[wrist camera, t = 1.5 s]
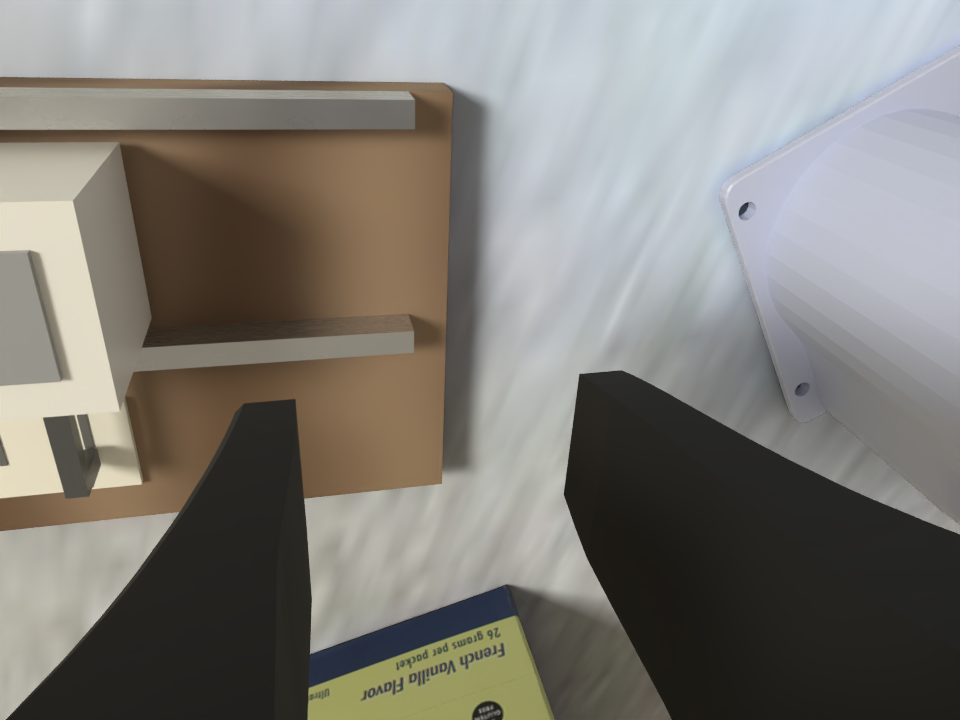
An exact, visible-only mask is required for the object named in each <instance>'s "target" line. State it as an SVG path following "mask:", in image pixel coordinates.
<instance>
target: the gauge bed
mask: <svg viewBox="0 0 960 720" xmlns="http://www.w3.org/2000/svg"><path fill="white" fill-rule="evenodd" d="M0 87H28V88H125V89H223V90H320V91H408V92H409V93H410V94H411V95H412V97H413V98H414V99H415V129H267V130H0V143H39V142H119V143H120V149H121V154H122V159H123V165H124V170H125V176H126V181H127V186H128V192H129V197H130V203H131V208H132V214H133V219H134V224H135V230H136V235H137V241H138V246H139V251H140V257H141V262H142V268H143V273H144V278H145V284H146V289H147V295H148V300H149V305H150V311H151V316H152V319H151V322H150V325H149V328H159V327H176V326H194V325H212V324H230V323H248V322H266V321H284V320H302V319H320V318H338V317H356V316H374V315H392V314H408V315H409V318H410V321H411V324H412V327H413V330H414V353H404V354H389V355H375V356H360V357H345V358H330V359H315V360H301V361H286V362H271V363H256V364H241V365H227V366H212V367H197V368H182V369H167V370H153V371H138V372H133V374H132V377H131V380H130V383H129V386H128V389H127V392H126V395H125V398H126V403H127V407H128V412H129V416H130V421H131V426H132V430H133V435H134V439H135V444H136V449H137V453H138V458H139V463H140V467H141V472H142V476H143V482H142V484H141V485H131V486H121V487H111V488H100V489H92V490H91V493H90V496H89V497H80V498H70V499H66V498H65V495H64V492H60V493H50V494H40V495H29V496H19V497H9V498H0V531H6V530H15V529H24V528H34V527H43V526H52V525H62V524H71V523H80V522H90V521H99V520H108V519H118V518H127V517H136V516H145V515H155V514H164V513H173V512H180V511H181V509H182V508H183V506H184V505H185V503H186V501H187V500H188V498H189V497H190V495H191V493H192V492H193V490H194V489H195V487H196V485H197V484H198V482H199V481H200V479H201V477H202V476H203V474H204V473H205V471H206V469H207V467H208V466H209V464H210V462H211V460H212V458H213V457H214V455H215V453H216V451H217V450H218V448H219V446H220V444H221V442H222V440H223V438H224V436H225V434H226V432H227V430H228V428H229V426H230V423H231V421H232V419H233V416H234V414H235V412H236V411H237V410H238V409H239V408H240V407H241V406H242V405H243V404H244V403H254V402H266V401H277V400H289V399H295V400H296V411H297V423H298V434H299V446H300V458H301V469H302V481H303V492H304V498H313V497H322V496H332V495H341V494H350V493H360V492H369V491H378V490H387V489H397V488H406V487H415V486H425V485H434V484H442V459H443V423H444V388H445V353H446V317H447V282H448V247H449V211H450V176H451V141H452V105H453V92H452V91H451V90H450V89H449V88H448V87H447V86H446V85H445V84H444V83H412V82H335V81H258V80H180V79H103V78H25V77H0Z"/></svg>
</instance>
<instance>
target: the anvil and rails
mask: <svg viewBox="0 0 960 720" xmlns="http://www.w3.org/2000/svg"><path fill="white" fill-rule="evenodd" d="M267 129H415V99H414V98H413V97H412V95H411V94H410V93H409V92H408V91H320V90H223V89H125V88H28V87H0V130H267ZM404 353H414V330H413V327H412V324H411V321H410V318H409V315H408V314H392V315H374V316H356V317H338V318H320V319H302V320H284V321H266V322H248V323H230V324H212V325H194V326H176V327H159V328H148V330H147V333H146V336H145V339H144V342H143V345H142V348H141V351H140V354H139V357H138V360H137V363H136V366H135V369H134V371H133V372H138V371H153V370H167V369H182V368H197V367H212V366H227V365H241V364H256V363H271V362H286V361H301V360H315V359H330V358H345V357H360V356H375V355H389V354H404Z"/></svg>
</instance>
